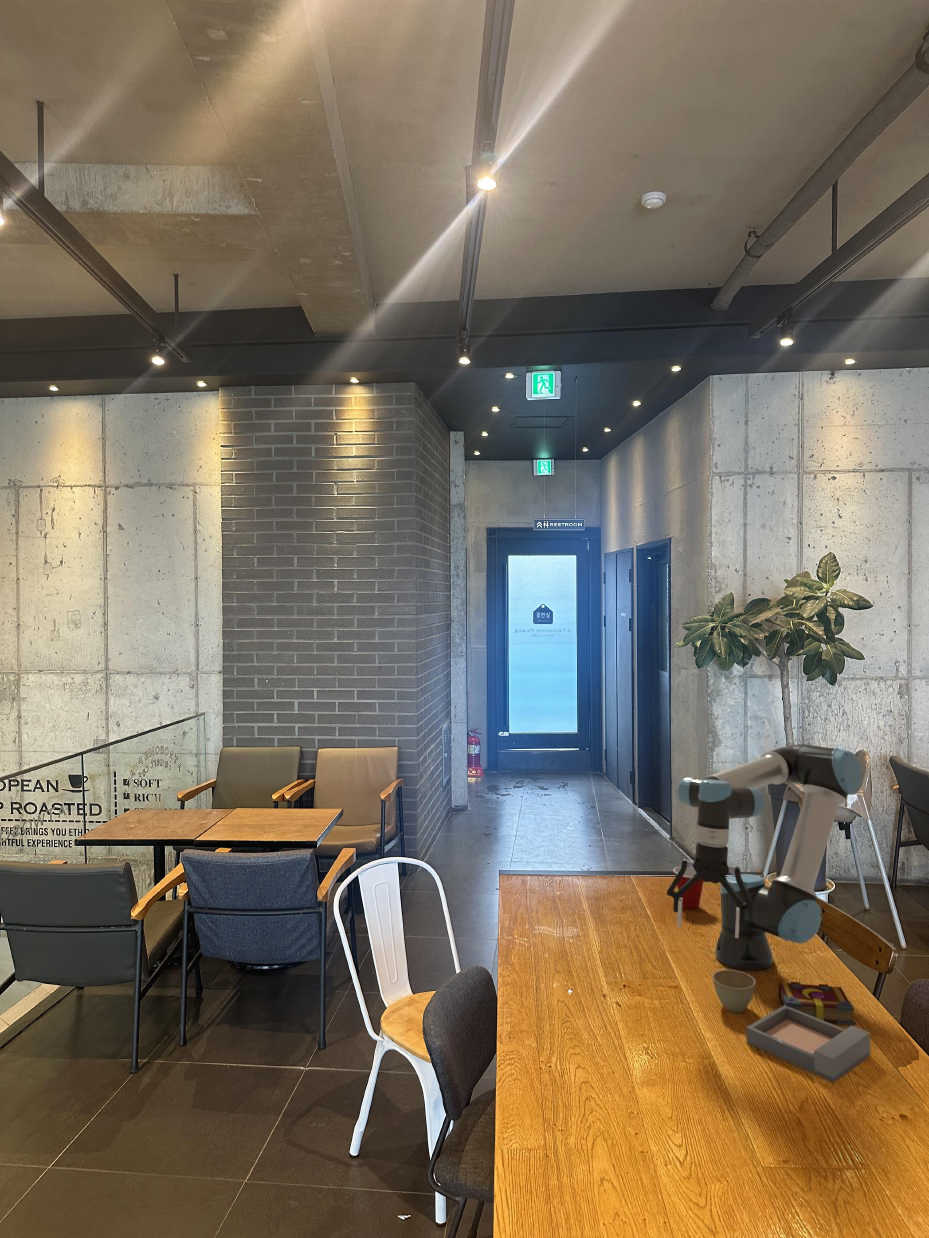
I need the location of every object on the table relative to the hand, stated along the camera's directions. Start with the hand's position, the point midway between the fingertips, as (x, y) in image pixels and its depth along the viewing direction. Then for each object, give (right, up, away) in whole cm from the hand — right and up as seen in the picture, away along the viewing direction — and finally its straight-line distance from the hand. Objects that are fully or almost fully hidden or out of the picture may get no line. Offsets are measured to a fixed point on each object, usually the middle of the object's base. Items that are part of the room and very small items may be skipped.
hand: (707, 931), depth 193 cm
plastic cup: (+15, -19, +68) cm, 73 cm away
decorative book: (+26, -19, -2) cm, 33 cm away
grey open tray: (+17, -19, -18) cm, 31 cm away
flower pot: (+7, -19, +1) cm, 21 cm away
